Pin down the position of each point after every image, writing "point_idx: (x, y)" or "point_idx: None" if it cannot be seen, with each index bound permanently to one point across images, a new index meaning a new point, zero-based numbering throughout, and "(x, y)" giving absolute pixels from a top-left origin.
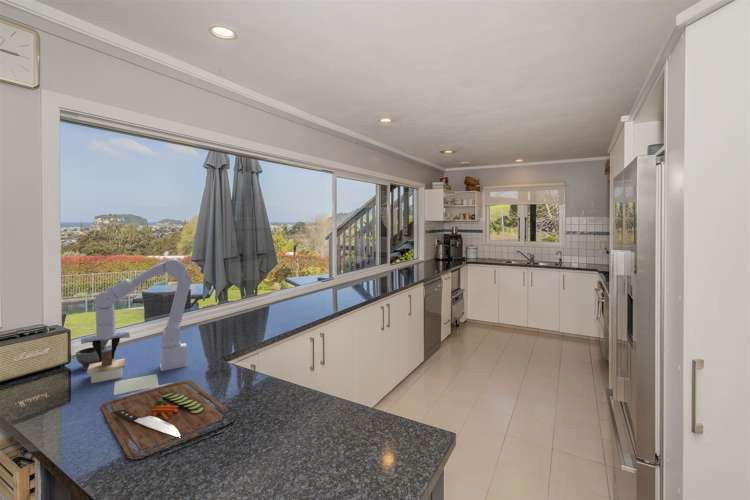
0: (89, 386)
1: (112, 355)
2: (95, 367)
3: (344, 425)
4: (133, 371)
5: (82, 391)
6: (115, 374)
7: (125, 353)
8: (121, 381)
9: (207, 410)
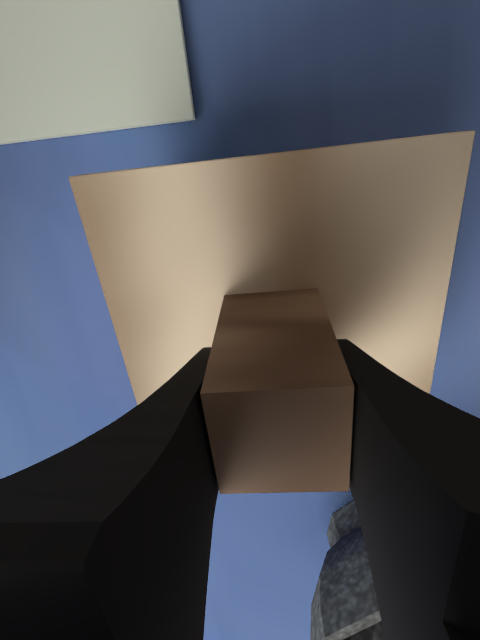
0: (383, 134)
1: (202, 363)
2: (376, 282)
3: None
4: None
5: (438, 6)
6: None
7: (230, 629)
8: (138, 92)
9: None
